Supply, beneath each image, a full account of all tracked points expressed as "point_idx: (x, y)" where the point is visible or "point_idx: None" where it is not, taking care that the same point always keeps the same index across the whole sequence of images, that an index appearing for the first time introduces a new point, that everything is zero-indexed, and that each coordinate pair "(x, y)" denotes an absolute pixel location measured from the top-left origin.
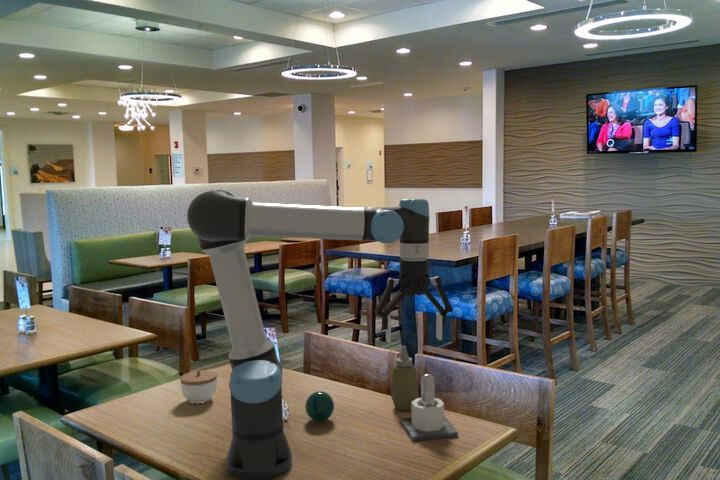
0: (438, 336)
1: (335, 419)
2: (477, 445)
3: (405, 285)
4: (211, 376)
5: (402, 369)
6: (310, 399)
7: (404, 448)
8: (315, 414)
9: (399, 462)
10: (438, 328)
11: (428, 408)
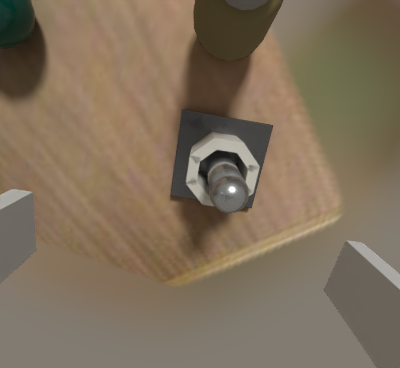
0: (338, 291)
1: (52, 29)
2: (258, 240)
3: None
4: None
5: (222, 12)
6: None
7: (149, 209)
8: None
9: (127, 243)
10: (375, 340)
11: (208, 203)
